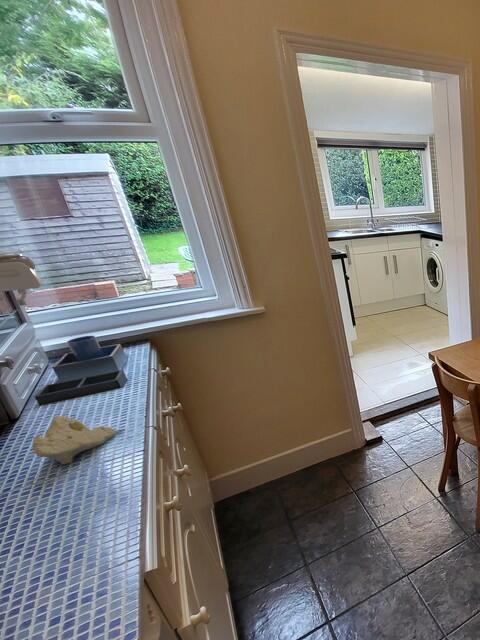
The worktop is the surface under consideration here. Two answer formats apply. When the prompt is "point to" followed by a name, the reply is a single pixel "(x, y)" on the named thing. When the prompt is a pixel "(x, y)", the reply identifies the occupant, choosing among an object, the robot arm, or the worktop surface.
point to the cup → (85, 348)
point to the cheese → (69, 439)
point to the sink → (90, 364)
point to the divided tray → (81, 387)
